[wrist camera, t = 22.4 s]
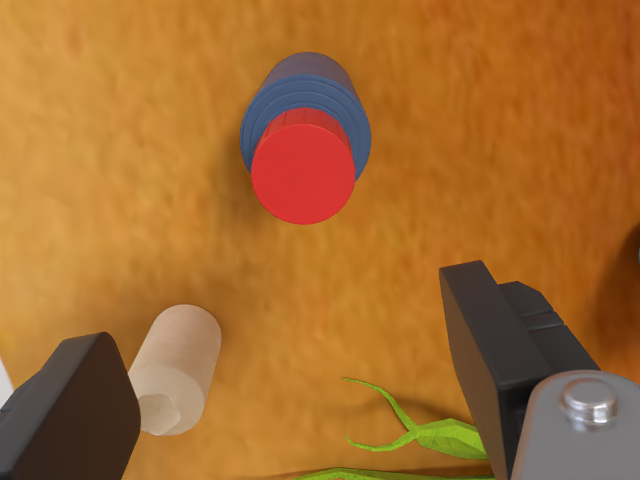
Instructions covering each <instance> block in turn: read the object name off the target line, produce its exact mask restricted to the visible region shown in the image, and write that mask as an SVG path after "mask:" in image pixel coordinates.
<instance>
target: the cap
mask: <svg viewBox="0 0 640 480" xmlns="http://www.w3.org/2000/svg"><path fill="white" fill-rule="evenodd" d="M254 154H255V156H254V159H253V162H252V167H251V180H252V185H253V189H254V192H255V194H256V196H257V198H258V200H259V201H260V203H261V204H262V205H263V206H264V208H265V209H266V210H267V211H269V212H270V213H271V214H272V215H274V216H275V217H277V218H279V219H281V220H283V221H286V222H289V223H293V224H300V225H307V224H314V223H318V222H321V221H324V220H326V219H328V218H330V217H332V216H333V215H335V214H336V213H337V212H338V211H339V210H340V209H342V207H343V206H344V205H345V204H346V202H347V201H348V199H349V197H350V195H351V193H352V191H353V187H354V182H355V172H356V169H355V165H354V161H353V156H352V149H351V145H350V141H349V137H348V135H346V133H345V131H344V129H343V128H342V126H341V125H340V124H339V121H338V120H337V121H336V120H335V119H334V118H333V117H332V116H330V115H329V114H327V113H325V112H323V110H321V111H320V110H318V109H314V108H305V107H303V108H295V109H291V110H288V111H284V113H282V114H280V115H279V116H277V117H276V118H275V119H274V120H273V121H270V122H269V125H268V126H267V128H266V130H265V131H264V133H263V136H261V137H260V139H259V142H258V144H257V146H256V149H255V151H254Z"/></svg>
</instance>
